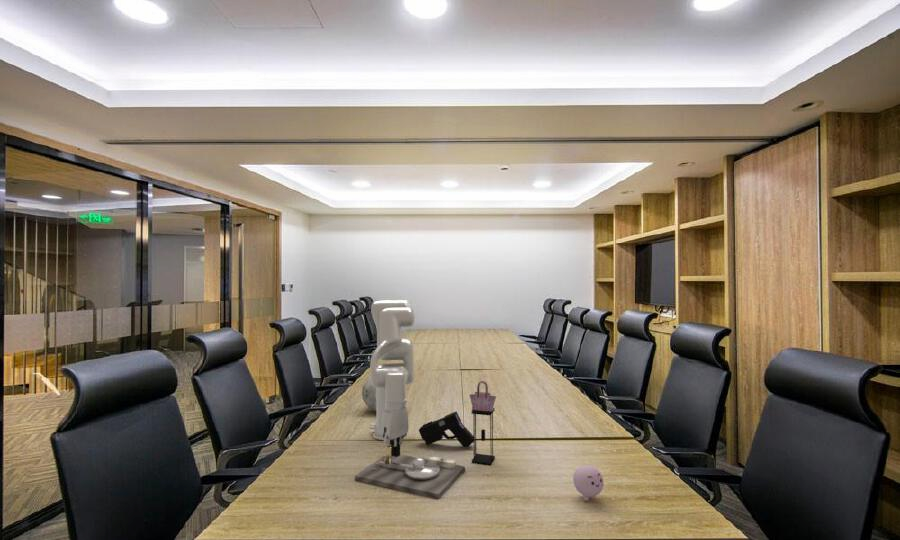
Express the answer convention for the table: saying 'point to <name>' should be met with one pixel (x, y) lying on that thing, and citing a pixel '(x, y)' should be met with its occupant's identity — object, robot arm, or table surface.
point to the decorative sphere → (369, 394)
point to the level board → (401, 482)
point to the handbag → (482, 406)
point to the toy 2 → (588, 481)
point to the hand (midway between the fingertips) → (395, 455)
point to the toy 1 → (449, 422)
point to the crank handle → (412, 466)
